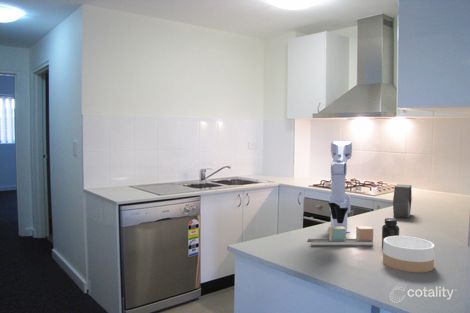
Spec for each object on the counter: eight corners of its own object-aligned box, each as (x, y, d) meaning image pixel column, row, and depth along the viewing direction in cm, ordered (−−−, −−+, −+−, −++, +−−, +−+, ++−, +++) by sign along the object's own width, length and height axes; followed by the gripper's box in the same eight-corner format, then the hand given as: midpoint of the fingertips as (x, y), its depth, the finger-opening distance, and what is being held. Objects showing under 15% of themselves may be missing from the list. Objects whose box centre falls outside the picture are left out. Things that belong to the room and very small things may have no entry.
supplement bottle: (384, 243, 165) (385, 216, 164) (401, 246, 160) (402, 218, 159) (379, 247, 159) (380, 219, 158) (396, 250, 155) (397, 221, 154)
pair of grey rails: (307, 240, 169) (308, 236, 168) (365, 240, 169) (366, 236, 169) (311, 246, 161) (311, 241, 160) (372, 246, 161) (372, 241, 161)
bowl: (390, 253, 152) (391, 233, 151) (438, 263, 141) (439, 241, 140) (376, 265, 139) (376, 242, 138) (427, 276, 128) (428, 252, 127)
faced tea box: (356, 242, 167) (356, 226, 167) (369, 242, 167) (369, 226, 167) (359, 244, 163) (359, 228, 162) (373, 244, 163) (373, 228, 163)
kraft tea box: (328, 242, 167) (329, 226, 166) (342, 242, 167) (342, 226, 167) (331, 244, 163) (331, 228, 162) (345, 244, 163) (345, 228, 162)
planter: (407, 212, 206) (410, 178, 214) (391, 210, 210) (395, 177, 218) (409, 223, 219) (412, 191, 227) (395, 222, 223) (398, 190, 231)
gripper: (352, 192, 156) (352, 225, 157) (342, 187, 171) (341, 217, 172) (335, 192, 156) (335, 225, 157) (326, 187, 171) (326, 217, 172)
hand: (337, 221), depth 164 cm, fingers open, 7 cm apart
